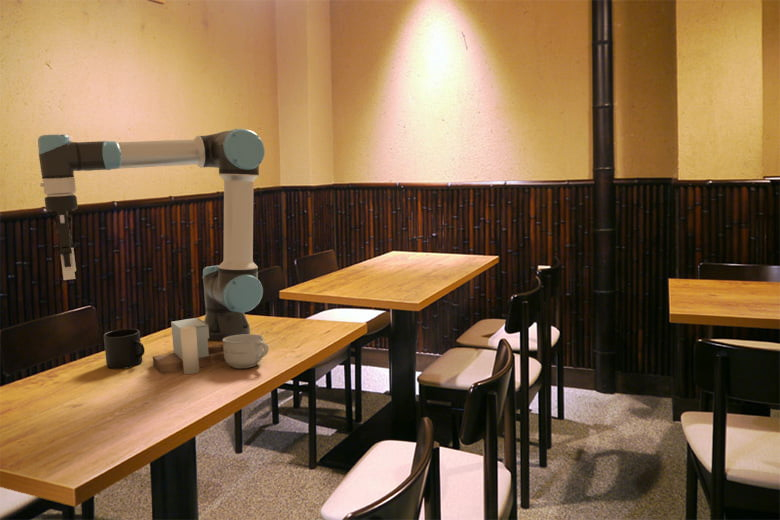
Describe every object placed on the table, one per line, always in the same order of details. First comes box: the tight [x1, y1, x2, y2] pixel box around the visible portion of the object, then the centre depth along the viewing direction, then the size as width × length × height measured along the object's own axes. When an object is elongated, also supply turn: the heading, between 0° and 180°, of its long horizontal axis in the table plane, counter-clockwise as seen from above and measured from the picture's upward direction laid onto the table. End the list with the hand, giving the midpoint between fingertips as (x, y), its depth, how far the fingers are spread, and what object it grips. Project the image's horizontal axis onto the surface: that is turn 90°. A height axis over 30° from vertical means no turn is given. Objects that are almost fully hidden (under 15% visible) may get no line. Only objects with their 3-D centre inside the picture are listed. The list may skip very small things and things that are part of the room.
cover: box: [170, 317, 209, 360], centre depth 187 cm, size 8×10×9 cm
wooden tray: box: [152, 343, 227, 375], centre depth 187 cm, size 20×10×6 cm, turn 121°
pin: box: [180, 326, 200, 375], centre depth 179 cm, size 4×4×12 cm
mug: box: [103, 328, 145, 370], centre depth 188 cm, size 9×12×9 cm
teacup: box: [222, 333, 269, 369], centre depth 182 cm, size 14×11×8 cm
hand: (70, 275), depth 178 cm, fingers open, 13 cm apart
